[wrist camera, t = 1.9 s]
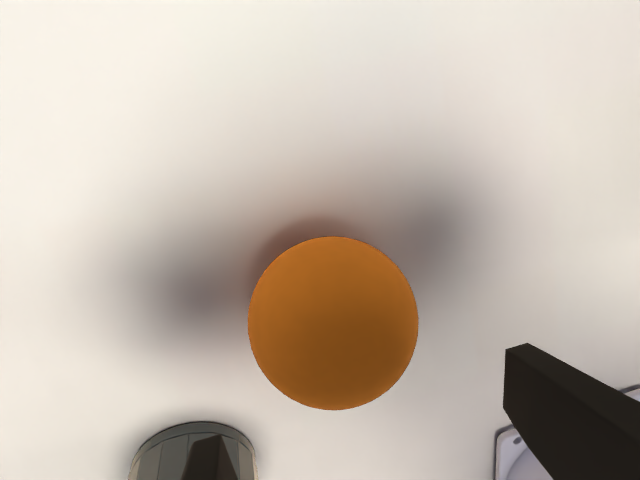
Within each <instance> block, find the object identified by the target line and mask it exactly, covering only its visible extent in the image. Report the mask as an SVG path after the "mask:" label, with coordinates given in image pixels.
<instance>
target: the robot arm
mask: <svg viewBox="0 0 640 480" xmlns="http://www.w3.org/2000/svg"><path fill="white" fill-rule="evenodd" d="M503 408H504V410H505V412H506V413H507V415H508V417H509V418H510V420H511V422H512V423H513V425H514V427H515V429H512V430H509V431H505V432H503V433H501V434H500V435H499V436H498V439H497V451H496V479H495V480H640V388H639V389H636V390H633V391H630V392H627V393H624V394H623V393H621V392H619V391H617V390H616V389H614V388H612V387H610V386H608V385H606V384H604V383H602V382H600V381H598V380H596V379H594V378H593V377H591V376H589V375H587V374H585V373H583V372H581V371H579V370H578V369H576V368H574V367H572V366H570V365H568V364H566V363H565V362H563V361H561V360H559V359H557V358H555V357H554V356H552V355H550V354H548V353H546V352H544V351H542V350H540V349H539V348H537V347H535V346H533V345H531V344H529V343H525V344H522V345H519V346H515V347H512V348H509V349H506V352H505V374H504V396H503ZM181 480H238V478H237V475H236V472H235V470H234V467H233V464H232V462H231V459H230V457H229V454H228V451H227V449H226V446H225V443H224V441H223V438H222V435H221V434H218V435H215V436H211V437H208V438H205V439H201V440H198V441H194V443H193V444H192V445H191V448H190V451H189V454H188V458H187V461H186V464H185V467H184V471H183V474H182V477H181Z"/></svg>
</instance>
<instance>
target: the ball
mask: <svg viewBox="0 0 640 480" xmlns="http://www.w3.org/2000/svg"><path fill="white" fill-rule="evenodd" d="M248 335H249V340H250V344H251V349H252V351H253V354H254V357H255V359H256V361H257V363H258V365H259V367H260V368H261V370H262V372H263V373H264V374H265V376H266V377H267V378H268V380H269V381H270V382H271V383H272V384H273V385H274V386H275V387H276V388H277V389H278V390H280V391H281V392H282V393H283V394H284V395H286V396H288V397H289V398H291V399H293V400H295V401H297V402H299V403H301V404H303V405H306V406H309V407H313V408H318V409H324V410H344V409H350V408H354V407H358V406H361V405H363V404H366V403H368V402H370V401H372V400H374V399H376V398H378V397H379V396H381V395H382V394H384V393H385V392H386V391H387V390H389V389H390V388H391V387H392V386H393V385H394V384H395V383H396V382H397V381H398V379H399V378H400V377H401V375H402V374H403V373H404V371H405V369H406V368H407V366H408V364H409V362H410V360H411V358H412V356H413V352H414V349H415V346H416V342H417V336H418V313H417V306H416V301H415V298H414V295H413V292H412V290H411V287H410V285H409V283H408V281H407V279H406V278H405V276H404V275H403V273H402V272H401V271H400V269H399V268H398V266H396V265H395V264H394V263H393V262H392V261H391V260H390V259H389V258H388V257H387V256H386V255H385V254H383V253H382V252H381V251H379V250H378V249H376V248H374V247H372V246H370V245H368V244H367V243H364V242H361V241H358V240H355V239H351V238H346V237H337V236H329V237H320V238H314V239H310V240H307V241H304V242H301V243H299V244H297V245H295V246H293V247H291V248H289V249H288V250H286V251H285V252H283V253H282V254H281V255H279V256H278V257H277V258H276V259H275V260H274V261H273V262H272V263H271V264H270V265H269V266H268V267H267V269H266V270H265V271H264V272H263V274H262V276H261V277H260V279H259V281H258V282H257V284H256V287H255V289H254V291H253V294H252V298H251V301H250V305H249V311H248Z"/></svg>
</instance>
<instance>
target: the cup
mask: <svg viewBox="0 0 640 480" xmlns="http://www.w3.org/2000/svg"><path fill="white" fill-rule="evenodd" d="M218 434H221V435H222V438H223V441H224V443H225V446H226V449H227V451H228V454H229V457H230V459H231V462H232V464H233V467H234V470H235V472H236V475H237V478H238V480H258V472H257V466H256V461H255V453H254V450H253V447H252V445H251V444H250V442H249V441H248V439H247V438H246V437H245V436H244V435H242V434H241V433H240V432H238V431H237V430H235V429H233V428H230V427H228V426H225V425H221V424H217V423H208V422H197V423H188V424H183V425H179V426H175V427H172V428H169V429H167V430H165V431H163V432H161V433H159V434H157V435H156V436H154V437H153V438H151V439H150V440H148V441H147V442H146V443H145V444H144V445H143V446H142V447H141V449H140V450H139V451H138V452H137V454H136V456H135V457H134V460H133V462H132V466H131V471H130V473H129V476H128V480H181V477H182V474H183V471H184V467H185V464H186V461H187V458H188V454H189V451H190V448H191V445H192V444H193V443H194V441H198V440H201V439H205V438H208V437H211V436H215V435H218Z"/></svg>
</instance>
